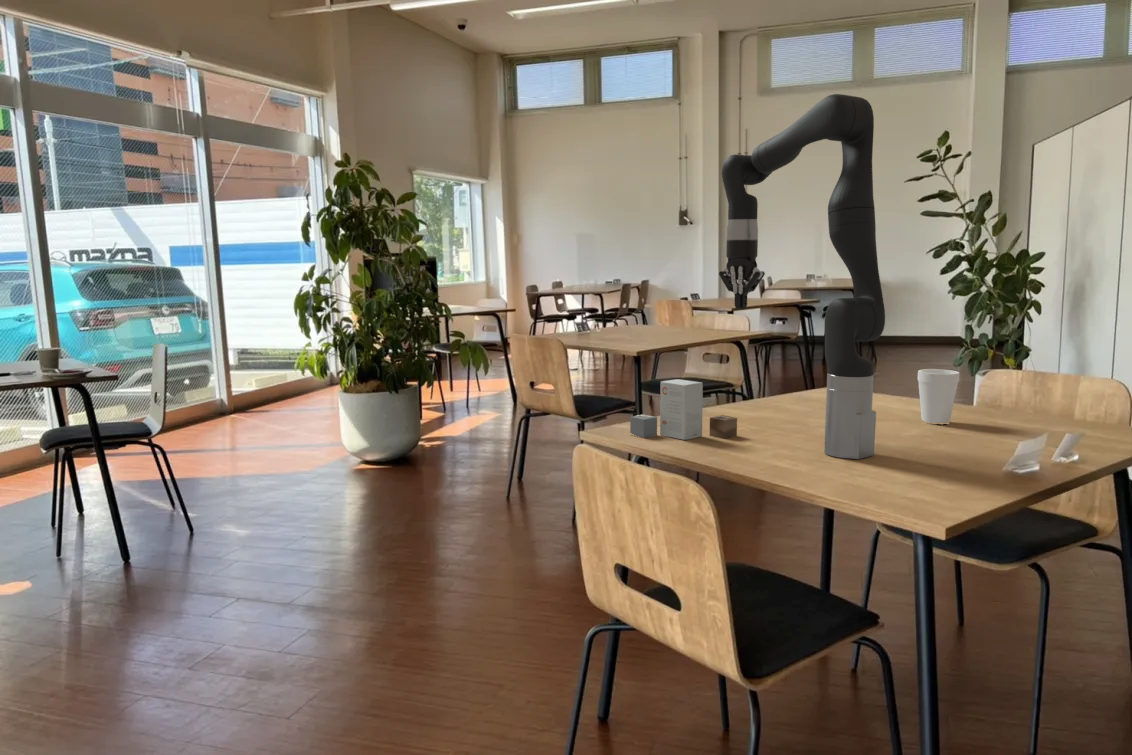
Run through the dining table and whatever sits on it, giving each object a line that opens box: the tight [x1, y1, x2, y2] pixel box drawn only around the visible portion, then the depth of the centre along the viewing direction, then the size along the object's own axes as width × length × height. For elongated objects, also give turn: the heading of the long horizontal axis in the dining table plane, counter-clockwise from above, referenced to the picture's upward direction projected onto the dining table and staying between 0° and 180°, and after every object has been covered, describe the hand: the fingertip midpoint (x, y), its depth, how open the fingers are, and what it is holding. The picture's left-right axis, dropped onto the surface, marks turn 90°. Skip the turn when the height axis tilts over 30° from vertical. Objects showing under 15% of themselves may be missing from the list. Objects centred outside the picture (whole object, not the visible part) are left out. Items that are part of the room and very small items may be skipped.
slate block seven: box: [629, 414, 658, 439], centre depth 192 cm, size 4×4×5 cm
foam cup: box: [917, 368, 960, 423], centre depth 203 cm, size 10×9×13 cm
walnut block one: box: [709, 414, 738, 440], centre depth 191 cm, size 4×4×5 cm
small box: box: [659, 378, 704, 441], centre depth 190 cm, size 8×6×13 cm
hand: (740, 309), depth 201 cm, fingers closed
